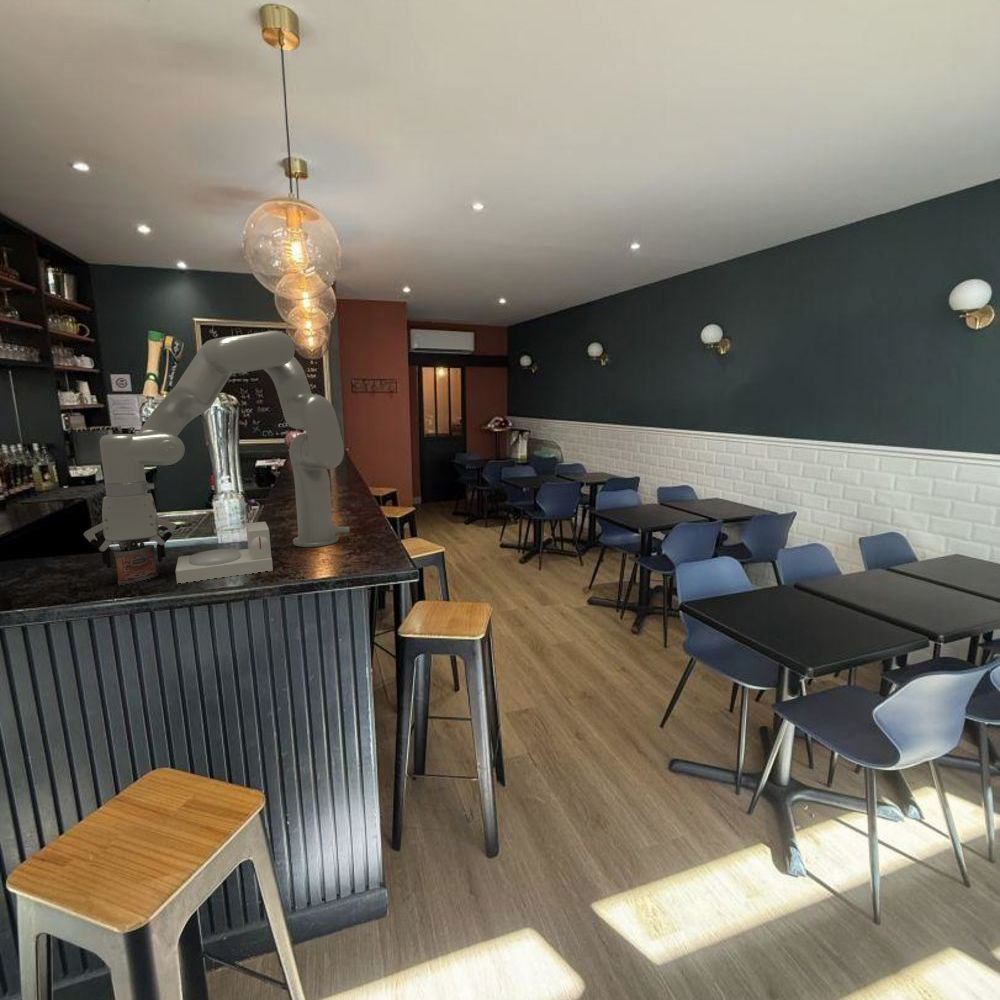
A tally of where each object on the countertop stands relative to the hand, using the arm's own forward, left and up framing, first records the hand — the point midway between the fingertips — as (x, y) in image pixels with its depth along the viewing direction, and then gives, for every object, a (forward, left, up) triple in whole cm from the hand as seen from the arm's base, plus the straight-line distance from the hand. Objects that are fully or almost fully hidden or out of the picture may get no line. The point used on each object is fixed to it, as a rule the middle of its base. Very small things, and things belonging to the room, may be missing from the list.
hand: (135, 563), depth 122 cm
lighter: (0, 0, -4) cm, 4 cm away
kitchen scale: (-18, +1, -4) cm, 19 cm away
